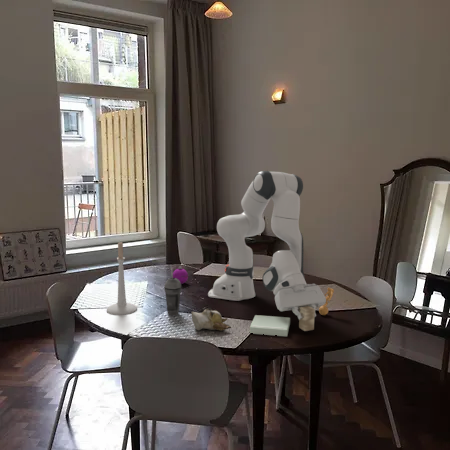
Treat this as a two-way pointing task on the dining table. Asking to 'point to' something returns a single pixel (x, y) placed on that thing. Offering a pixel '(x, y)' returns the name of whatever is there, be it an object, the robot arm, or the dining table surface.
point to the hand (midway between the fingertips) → (307, 317)
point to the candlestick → (121, 290)
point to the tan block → (307, 318)
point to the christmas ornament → (180, 275)
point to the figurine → (323, 309)
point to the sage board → (270, 325)
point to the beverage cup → (173, 295)
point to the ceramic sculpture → (209, 320)
